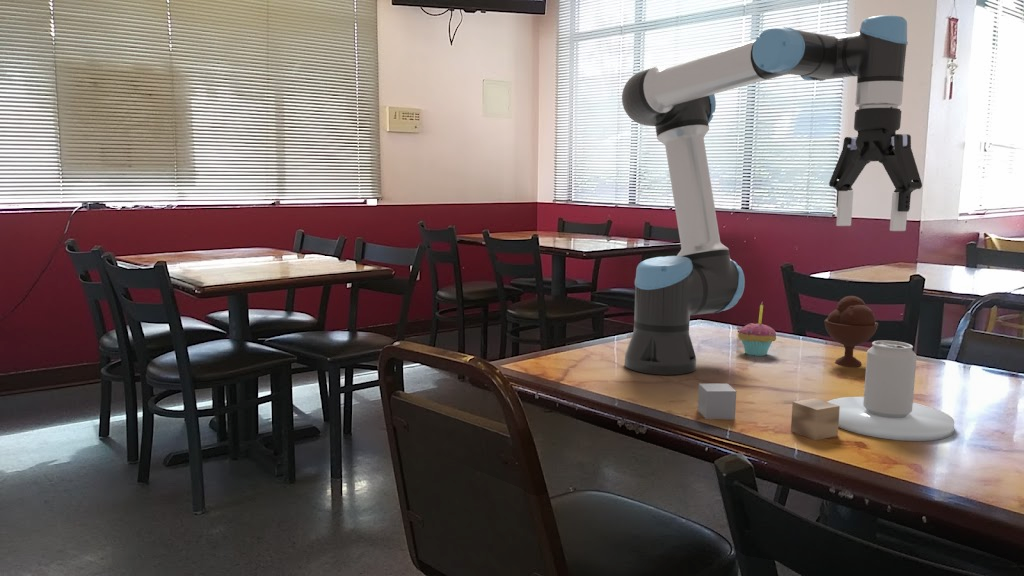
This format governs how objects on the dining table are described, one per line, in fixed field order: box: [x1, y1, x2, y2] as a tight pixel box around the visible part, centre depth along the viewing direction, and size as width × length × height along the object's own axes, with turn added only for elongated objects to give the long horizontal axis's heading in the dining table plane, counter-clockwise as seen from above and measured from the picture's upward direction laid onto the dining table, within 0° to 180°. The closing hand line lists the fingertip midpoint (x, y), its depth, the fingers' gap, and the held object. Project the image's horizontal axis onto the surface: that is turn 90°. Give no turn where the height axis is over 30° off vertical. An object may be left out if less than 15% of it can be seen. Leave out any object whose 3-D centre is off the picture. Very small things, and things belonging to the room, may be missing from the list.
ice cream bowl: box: [823, 295, 879, 368], centre depth 176 cm, size 11×11×15 cm
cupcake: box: [737, 301, 777, 357], centre depth 186 cm, size 9×8×12 cm
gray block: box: [697, 383, 737, 420], centre depth 138 cm, size 5×5×5 cm
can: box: [863, 340, 918, 418], centre depth 135 cm, size 8×8×12 cm
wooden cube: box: [790, 397, 840, 441], centre depth 129 cm, size 5×5×5 cm
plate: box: [826, 396, 955, 442], centre depth 135 cm, size 20×20×2 cm
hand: (869, 228), depth 145 cm, fingers open, 13 cm apart
